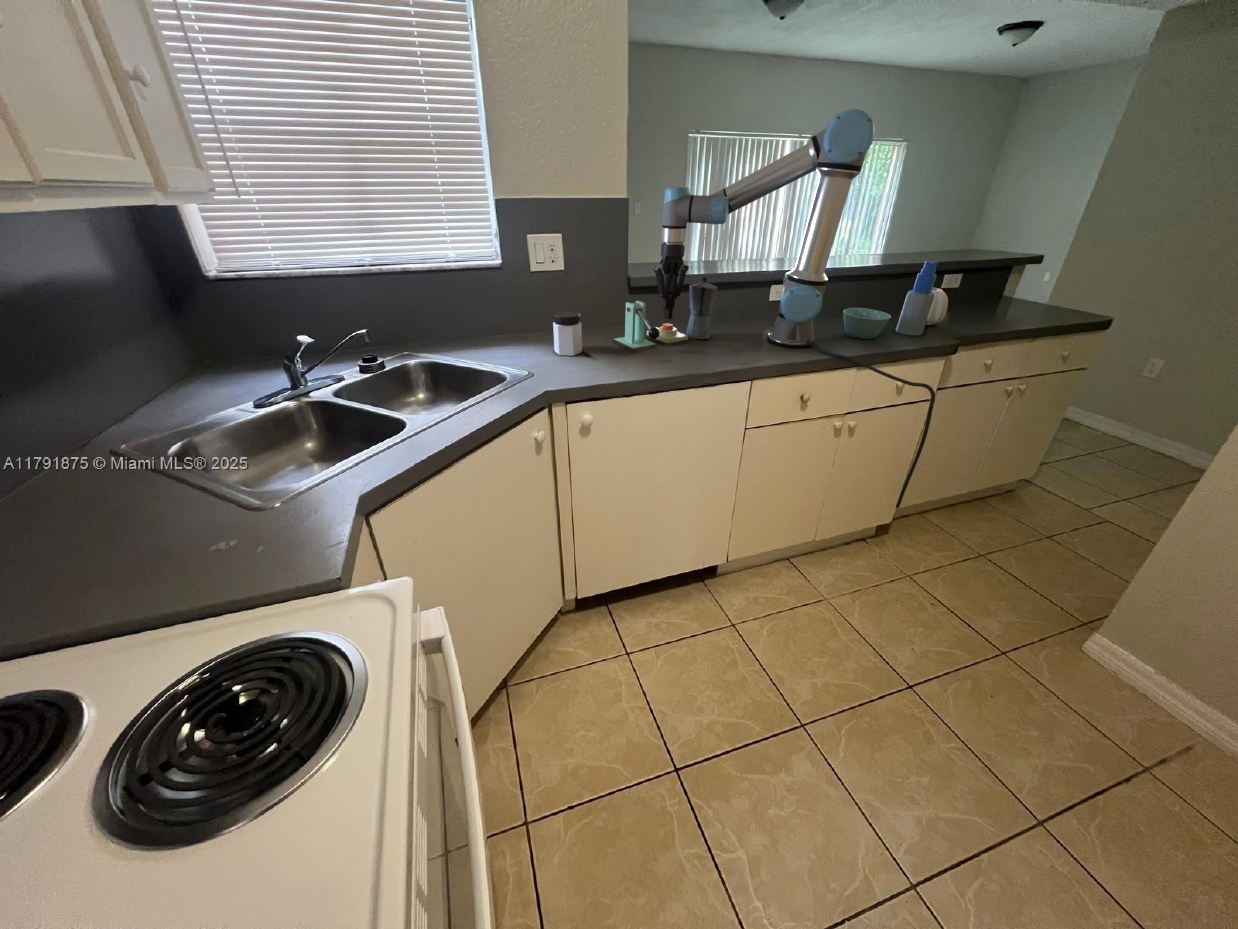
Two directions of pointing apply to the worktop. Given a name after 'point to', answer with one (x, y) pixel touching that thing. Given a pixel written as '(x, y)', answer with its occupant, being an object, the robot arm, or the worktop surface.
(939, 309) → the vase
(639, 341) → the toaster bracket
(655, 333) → the lever
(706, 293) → the moka pot
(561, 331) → the jar
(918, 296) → the spray bottle
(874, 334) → the bowl
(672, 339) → the button block
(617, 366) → the worktop surface
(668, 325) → the button
